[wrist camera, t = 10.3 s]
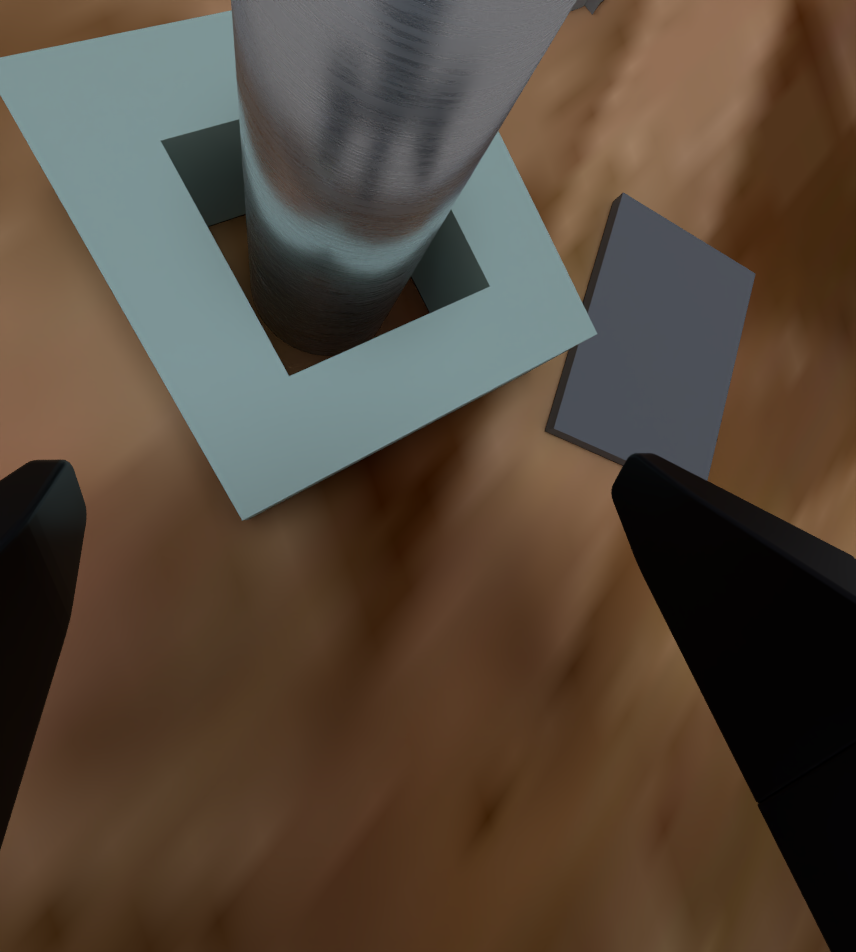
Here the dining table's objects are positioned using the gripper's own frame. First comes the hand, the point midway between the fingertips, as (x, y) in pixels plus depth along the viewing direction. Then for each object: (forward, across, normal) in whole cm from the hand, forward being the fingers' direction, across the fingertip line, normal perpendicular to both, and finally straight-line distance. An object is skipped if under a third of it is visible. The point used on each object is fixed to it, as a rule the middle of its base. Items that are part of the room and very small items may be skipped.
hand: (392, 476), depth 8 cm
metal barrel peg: (+11, 0, +1) cm, 11 cm away
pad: (+10, -13, +2) cm, 16 cm away
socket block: (+11, 0, +1) cm, 11 cm away
